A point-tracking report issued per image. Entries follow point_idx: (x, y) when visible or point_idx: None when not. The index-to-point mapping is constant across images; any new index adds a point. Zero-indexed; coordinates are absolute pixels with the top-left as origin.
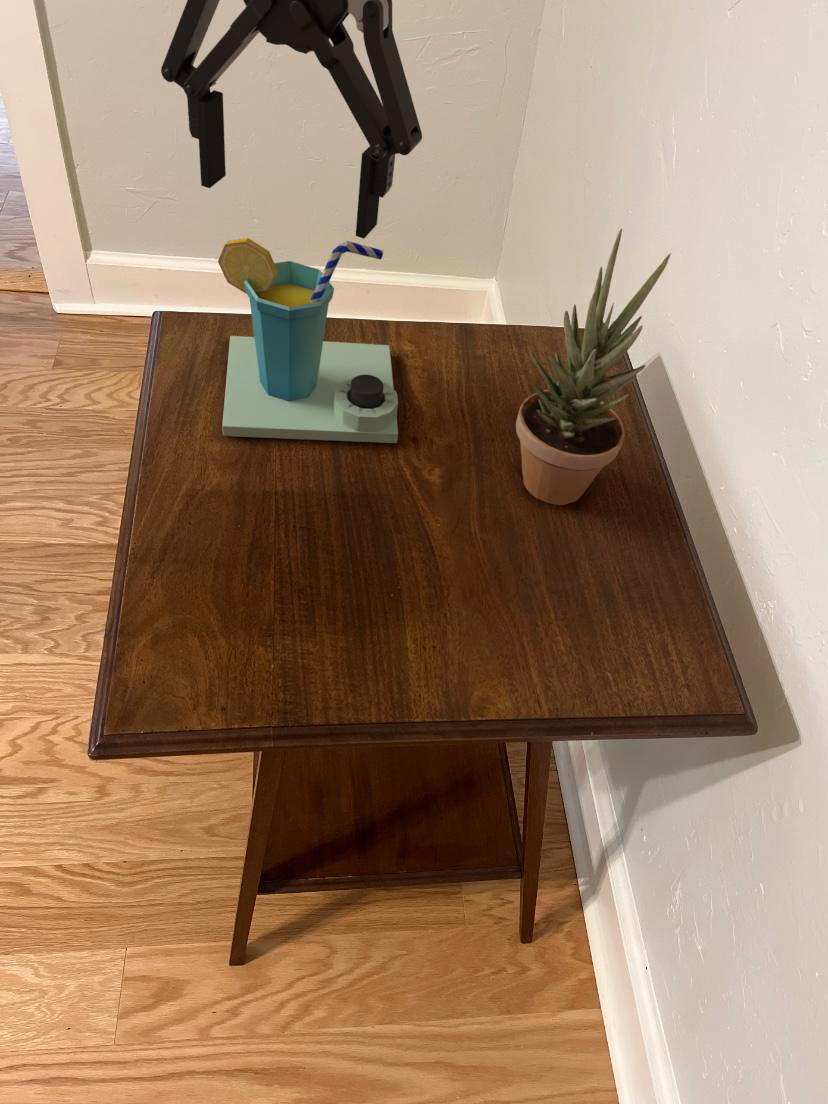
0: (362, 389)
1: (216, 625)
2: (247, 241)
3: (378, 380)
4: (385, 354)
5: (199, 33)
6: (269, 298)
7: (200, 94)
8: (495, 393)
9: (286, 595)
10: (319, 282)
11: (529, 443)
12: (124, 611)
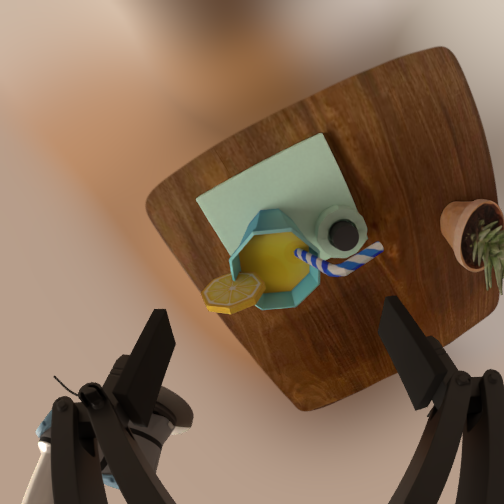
0: (345, 247)
1: (317, 379)
2: (232, 312)
3: (353, 229)
4: (325, 148)
5: (91, 484)
6: (253, 265)
7: (127, 424)
8: (410, 142)
9: (340, 358)
10: (306, 262)
11: (462, 265)
12: (279, 387)
